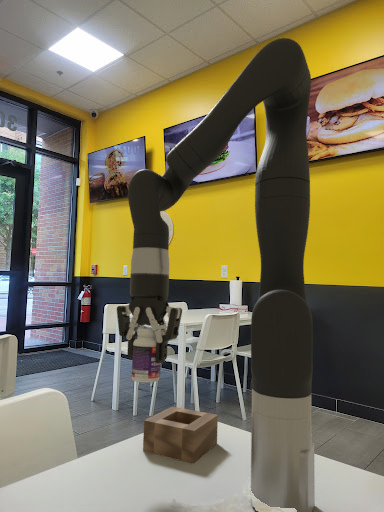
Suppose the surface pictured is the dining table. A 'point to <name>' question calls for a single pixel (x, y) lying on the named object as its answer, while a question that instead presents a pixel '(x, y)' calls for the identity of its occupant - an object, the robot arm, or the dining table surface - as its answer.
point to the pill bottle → (145, 356)
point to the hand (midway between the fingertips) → (146, 360)
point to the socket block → (180, 434)
